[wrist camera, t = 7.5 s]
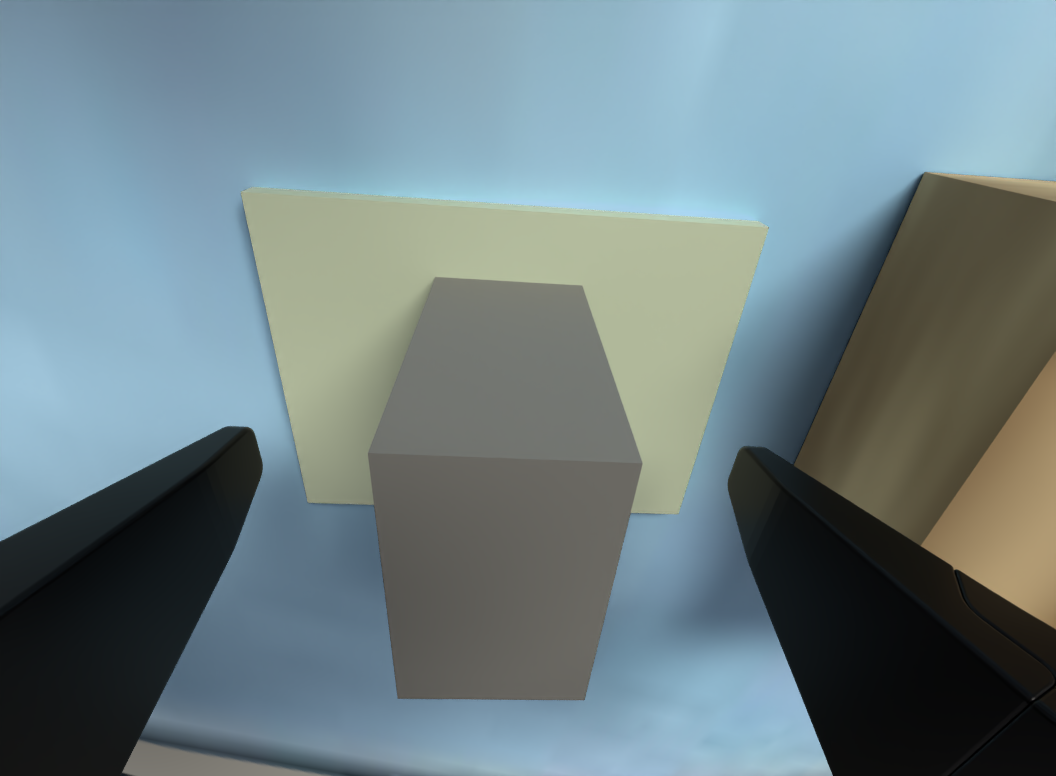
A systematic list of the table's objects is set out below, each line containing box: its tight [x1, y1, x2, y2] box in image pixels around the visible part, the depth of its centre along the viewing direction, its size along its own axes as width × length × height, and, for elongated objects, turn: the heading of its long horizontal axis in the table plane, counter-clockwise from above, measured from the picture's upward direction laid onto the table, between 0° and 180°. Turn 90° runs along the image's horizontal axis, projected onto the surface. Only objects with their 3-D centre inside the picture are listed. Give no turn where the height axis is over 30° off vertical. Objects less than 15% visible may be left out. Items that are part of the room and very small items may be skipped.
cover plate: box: [241, 187, 769, 700], centre depth 10 cm, size 10×8×6 cm
